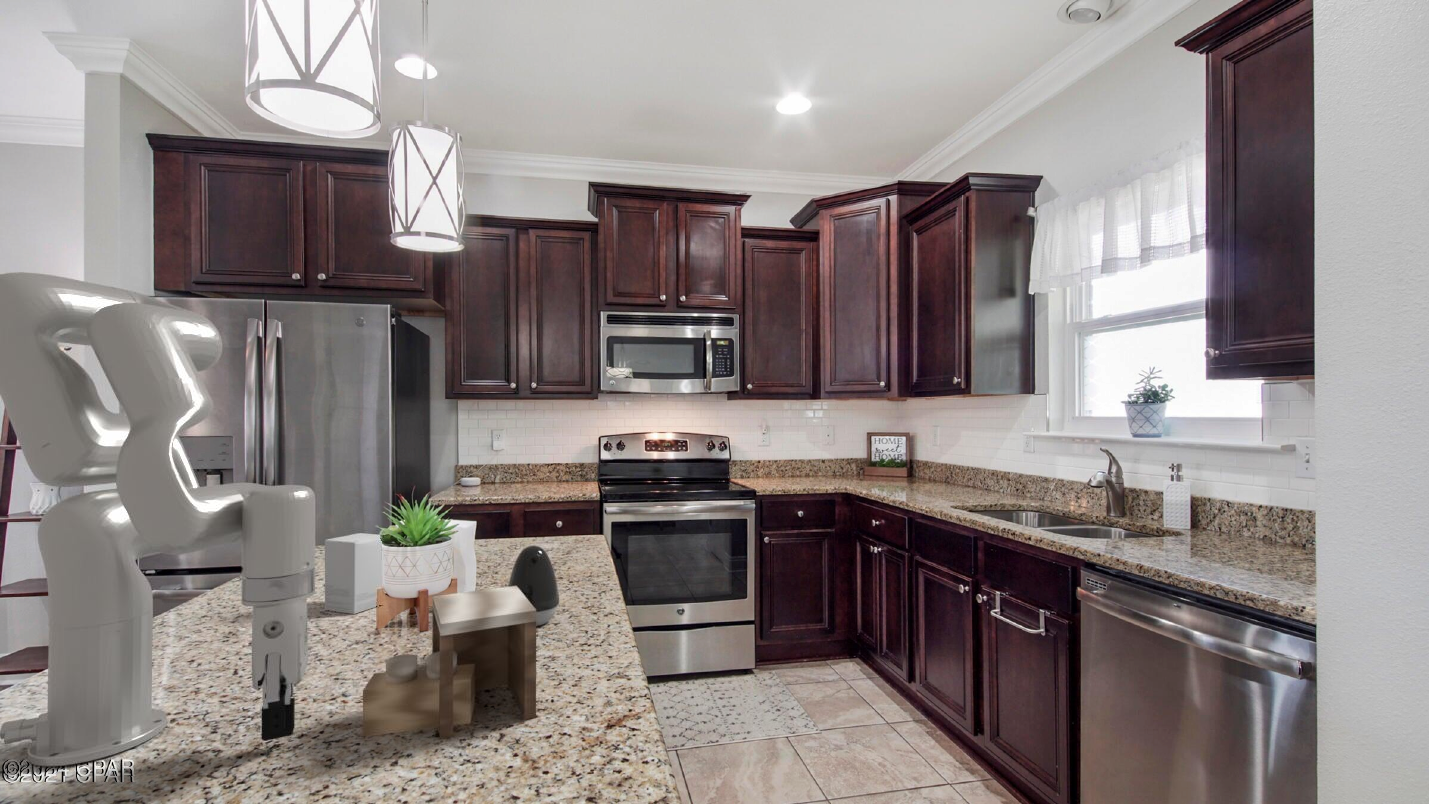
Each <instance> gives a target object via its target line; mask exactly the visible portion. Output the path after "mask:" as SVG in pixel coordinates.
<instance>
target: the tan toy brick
mask: <svg viewBox="0 0 1429 804" xmlns="http://www.w3.org/2000/svg"><path fill="white" fill-rule="evenodd" d="M439 678H440V651H439V652H435V653H432V652H431V653H430V654H429V655H427V656H426V668H418V655H416V654H411V653H408V654H407V653H404V654H399V655H395V656H392V657H390V658H388V659H387V660H386V661H385V672H375V673H373V675H372V676H371V677H370V679H369V681H368V682H367V683H366V685H365V686H364V688H363V689H362V737H369V736H376V735H377V736H378V735H385V734H386V735H387V734H393V733H401V732H402V733H403V732H411V731H420V730H427V729H435V728H436V729H437V728H439ZM475 705H476V691H475V664H466V665H457V653H456V652H454V651H453V726H459V725H467V724H471V722H472V718H473V715H474V710H475Z"/></svg>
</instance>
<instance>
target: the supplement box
mask: <svg viewBox="0 0 1429 804" xmlns="http://www.w3.org/2000/svg"><path fill="white" fill-rule="evenodd" d="M380 535H381V534H375V533H365V532H363V533H362V532H360V533H353V534H348V535H344V536H338V537H333V538H328V539H325V540H324V611H328V610H329V612H335V611H336V613H343V614H349V615H356V614H358V613H361V612H364V611H367V610H370V609H373V608H374V609H375V608H376V598H377V589H378V588H379V586H380V585H382V563H381V545H382V541H381V539H380Z"/></svg>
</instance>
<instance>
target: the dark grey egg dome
mask: <svg viewBox="0 0 1429 804" xmlns="http://www.w3.org/2000/svg"><path fill="white" fill-rule="evenodd" d="M511 586H517V587H518V588H519V589H520V591H521V592H522V593H523V594H524V596H525V597H526V598H527V599H528V600H529V602H530V603H531V604H532V605H533V607H534V608H535V609H536V627H539V626H543V625H545V624H546V623H548V622H550V620H551V619H552V618H553V617H554V616H555V614H556V612H557V609H558V605H559V604H560V594H559V587H558V581H557V578H556V574H555V570H554V567H553V564H552V561H551V559H550V556H549V554H548V553H547V552H546V550H545V549H544V548H542V547H541V546H538V545H529V546H527V547H526V546H525V548H524V549H522V550H521V551H520V552H519V554H518V555H517V557H516V559H515V561H514V564H513V567H512V569H511V573H510V577H509V581H508V584H507V587H511Z"/></svg>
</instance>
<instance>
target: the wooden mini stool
mask: <svg viewBox="0 0 1429 804" xmlns="http://www.w3.org/2000/svg"><path fill="white" fill-rule="evenodd" d="M431 625H432V626H431V627H432V628H431V629H432V631H431V633H432V638H431V639H432V643H431V647H432V649H431V650H432V651H431V654H432V653H435V652H439V651H440V678H439V727H438V728H439V729H438V735H439V739H440V740H441V739H442V740H443V739H446V738H451V737H453V736H454V725H453V651H454V652H456V653H457V665H466V664H475V692H479V691H486V690H491V689H495V688H500V687H506V686H508V688H509V690H510V692H511V694H512V696H513V698H514V700H515V702H516V704H517V706H518V709H519V710H520V712H521V716H522V718H523V719H524V721H526V720H531V719H534V718H535V719H536V718H537V626H536V609H535V608H534V607H533V605H532V604H531V603H530V602H529V600H528V599H527V598H526V597H525V596H524V594H523V593H522V592H521V591H520V589H519V588H518V587H517V586H511V587H508V586H505V587H504V586H503V587H496V588H490V589H489V588H488V589H487V588H486V589H481V590H472V591H471V590H470V591H465V592H457V593H450V594H440V595H433V596H432V624H431Z"/></svg>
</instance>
